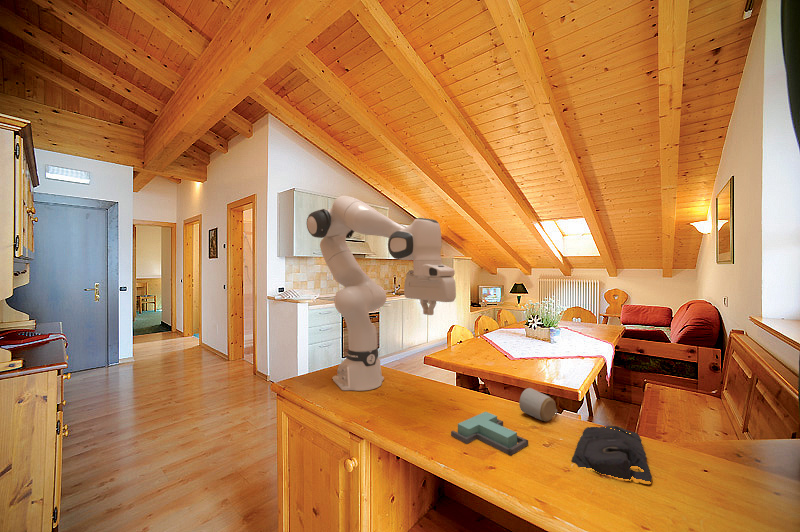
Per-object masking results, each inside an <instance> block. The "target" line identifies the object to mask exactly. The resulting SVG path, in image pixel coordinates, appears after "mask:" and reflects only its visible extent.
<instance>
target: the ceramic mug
mask: <svg viewBox="0 0 800 532" xmlns="http://www.w3.org/2000/svg"><path fill="white" fill-rule="evenodd" d="M518 403H519V404H518V405H519V409H520V411H521V412H522V413H524V414H526V415H529V416H531V417H533V418H535V419H538V421H542V422H549V421H551V420H553V418H554V416H556V415H557V413H558V409H557V406H556V402H555V400H554V399H553V398H552V397H550V396H549V395H547V394H544V393H542V392H540V391H538V390H536V389H534V388H532V387H527V388H525V389H524V390H523V391H522V392H521V394H520V397H519V402H518ZM555 413H556V414H555Z"/></svg>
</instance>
